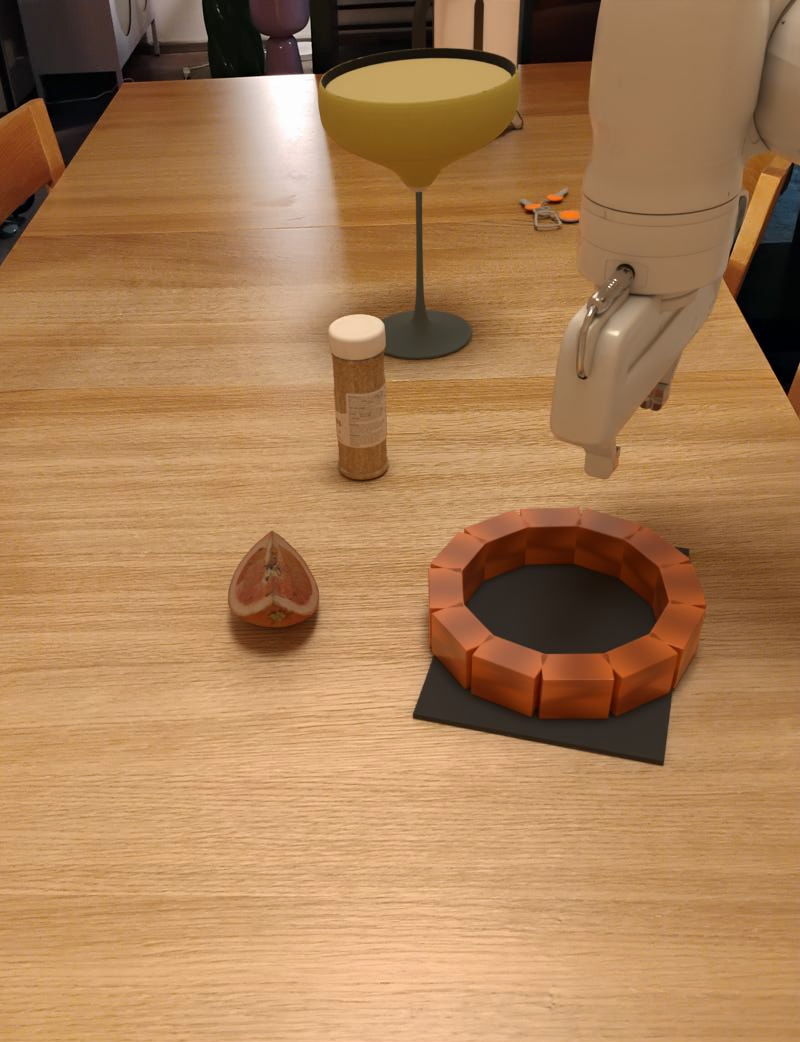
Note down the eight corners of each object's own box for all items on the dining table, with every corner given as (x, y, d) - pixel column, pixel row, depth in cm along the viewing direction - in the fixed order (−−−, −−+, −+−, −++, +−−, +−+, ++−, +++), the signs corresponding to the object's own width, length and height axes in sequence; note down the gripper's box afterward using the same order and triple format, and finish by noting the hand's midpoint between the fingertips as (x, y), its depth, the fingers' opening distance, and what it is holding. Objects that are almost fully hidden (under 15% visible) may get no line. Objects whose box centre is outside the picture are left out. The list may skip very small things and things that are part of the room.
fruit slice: (322, 650, 74) (317, 597, 70) (229, 657, 74) (219, 605, 70) (319, 577, 80) (314, 525, 76) (233, 584, 80) (224, 532, 77)
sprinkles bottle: (338, 455, 92) (327, 313, 83) (388, 452, 92) (383, 310, 83) (338, 484, 89) (327, 339, 80) (390, 481, 89) (386, 336, 80)
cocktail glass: (393, 286, 118) (386, 40, 101) (537, 317, 109) (556, 55, 92) (301, 353, 107) (276, 92, 91) (452, 393, 99) (455, 113, 82)
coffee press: (420, 117, 163) (418, -114, 143) (523, 113, 161) (535, -123, 141) (412, 154, 151) (409, -94, 131) (523, 150, 148) (537, -103, 128)
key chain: (588, 227, 126) (588, 220, 125) (527, 231, 126) (528, 224, 126) (571, 190, 135) (572, 183, 135) (515, 194, 136) (516, 187, 135)
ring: (584, 519, 82) (589, 481, 80) (752, 655, 69) (763, 615, 67) (383, 596, 77) (381, 558, 74) (524, 758, 64) (528, 719, 62)
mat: (482, 525, 83) (482, 520, 83) (688, 552, 79) (689, 548, 78) (412, 717, 68) (412, 713, 68) (663, 765, 64) (664, 761, 63)
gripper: (641, 319, 54) (613, 531, 63) (758, 184, 65) (721, 379, 75) (529, 299, 56) (519, 505, 66) (661, 173, 68) (636, 363, 78)
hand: (627, 437), depth 70 cm, fingers open, 8 cm apart
